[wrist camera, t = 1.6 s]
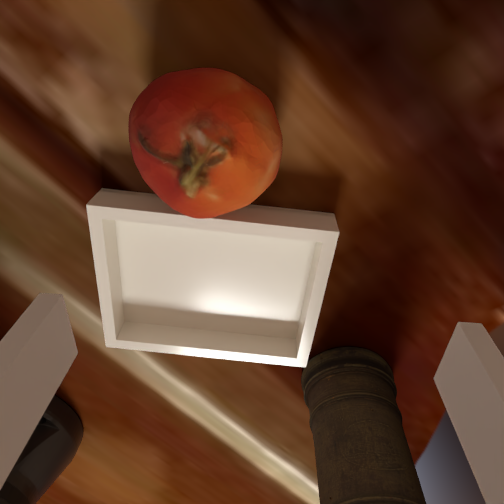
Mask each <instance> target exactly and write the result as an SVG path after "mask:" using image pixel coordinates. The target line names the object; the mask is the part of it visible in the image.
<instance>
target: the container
mask: <svg viewBox="0 0 504 504" xmlns="http://www.w3.org/2000/svg"><path fill="white" fill-rule="evenodd" d="M301 383H302V389H303V391H304V400H305V403H306V405H307V406H308V408H309V411H310V428H311V431H312V433H313V439H314V446H315V456H316V467H317V476H318V488H319V498H320V504H426V502H425V498H424V495H423V492H422V488H421V485H420V482H419V478H418V476H417V472H416V469H415V466H414V463H413V460H412V456H411V453H410V450H409V447H408V443H407V440H406V437H405V434H404V430H403V427H402V415H401V412H400V410H399V409H398V406H397V403H396V400H395V399H396V395H397V389H396V385H395V383H394V377H393V372H392V370H391V368H390V366H389V365H388V363H387V362H386V361H385V360H384V359H383V358H382V357H381V356H380V355H378V354H377V353H375V352H373V351H370V350H367V349H364V348H359V347H340V348H334V349H331V350H327V351H325V352H322V353H320V354H318V355H316V356H315V357H313V358H312V359H311V360H310V361H309V362H308V363H307V366H306V367H304V370H303V373H302V378H301Z"/></svg>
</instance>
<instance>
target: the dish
mask: <svg viewBox="0 0 504 504" xmlns="http://www.w3.org/2000/svg"><path fill="white" fill-rule="evenodd" d="M86 207H87V214H88V221H89V228H90V236H91V243H92V250H93V257H94V264H95V272H96V279H97V286H98V293H99V300H100V308H101V315H102V322H103V329H104V336H105V344H106V347H113V348H122V349H132V350H141V351H151V352H161V353H170V354H180V355H190V356H199V357H209V358H219V359H228V360H238V361H248V362H257V363H267V364H277V365H286V366H296V367H306V366H307V362H308V358H309V354H310V350H311V346H312V341H313V337H314V333H315V329H316V325H317V321H318V317H319V313H320V309H321V305H322V301H323V297H324V293H325V289H326V285H327V281H328V277H329V273H330V268H331V264H332V260H333V256H334V252H335V248H336V244H337V240H338V236H339V229H338V225H337V222H336V219H335V215H334V213H326V212H317V211H308V210H298V209H289V208H280V207H271V206H262V205H252V204H249V205H248V206H245V207H243V208H240V209H237V210H235V211H232V212H228V213H225V214H222V215H219V216H216V217H213V218H205V219H198V218H192V217H189V216H186V215H184V214H182V213H180V212H178V211H176V210H174V209H172V208H171V207H170V206H169V205H167V204H166V203H165V202H164V201H163V200H162V199H160V198H159V197H158V195H157V194H151V193H142V192H133V191H123V190H114V189H105V188H102V189H101V190H100V191H99V192H98V193H97V194H96V195H95V196H94V197H93V198H92V199H91V200H90V201H89V202H88V203H87V205H86Z"/></svg>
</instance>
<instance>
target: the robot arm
mask: <svg viewBox="0 0 504 504" xmlns="http://www.w3.org/2000/svg"><path fill="white" fill-rule="evenodd" d="M77 354H78V351H77V347H76V343H75V340H74V336H73V332H72V328H71V325H70V321H69V317H68V313H67V310H66V306H65V302H64V298H63V295H62V294H49V293H39V295H38V296H37V297H36V298H35V299H34V301H33V302H32V303H31V304H30V306H29V307H28V308H27V309H26V310H25V312H24V313H23V314H22V315H21V317H20V318H19V319H18V320H17V321H16V323H15V324H14V325H13V326H12V328H11V329H10V330H9V331H8V332H7V334H6V335H5V336H4V337H3V339H2V340H1V341H0V504H36V502H37V501H38V500H39V499H40V498H41V496H42V495H43V494H44V493H45V492H46V491H47V489H48V488H49V487H50V486H51V485H52V483H53V482H54V481H55V480H56V479H57V478H58V476H59V475H60V474H61V473H62V472H63V471H64V469H65V468H66V467H67V466H68V465H69V463H70V462H71V461H72V459H73V458H74V456H75V454H76V452H77V450H78V447H79V445H80V443H81V441H82V438H83V427H82V424H81V421H80V419H79V418H78V416H77V415H76V413H75V412H74V411H73V410H72V409H71V408H70V407H69V406H68V405H67V404H66V403H65V402H63V401H62V400H61V399H59V398H58V397H56V396H55V395H54V394H55V393H56V391H57V389H58V387H59V386H60V384H61V382H62V380H63V378H64V377H65V375H66V373H67V371H68V370H69V368H70V366H71V364H72V363H73V361H74V359H75V357H76V356H77ZM434 381H435V383H436V386H437V388H438V390H439V393H440V395H441V397H442V400H443V402H444V405H445V407H446V409H447V412H448V414H449V416H450V419H451V421H452V424H453V426H454V428H455V431H456V433H457V435H458V438H459V440H460V443H461V445H462V447H463V450H464V452H465V454H466V457H467V459H468V462H469V464H470V466H471V469H472V471H473V474H474V476H475V478H476V480H477V483H478V485H479V488H480V490H481V493H482V495H483V497H484V499H485V502H486V504H504V358H503V356H502V354H501V353H500V351H499V350H498V348H497V347H496V345H495V344H494V342H493V340H492V339H491V337H490V336H489V334H488V333H487V331H486V330H485V328H484V326H483V325H482V324H480V323H466V322H458V323H457V326H456V328H455V330H454V333H453V335H452V337H451V340H450V342H449V344H448V346H447V349H446V351H445V353H444V356H443V358H442V360H441V363H440V365H439V367H438V370H437V372H436V374H435V376H434Z"/></svg>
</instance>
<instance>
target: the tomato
mask: <svg viewBox="0 0 504 504" xmlns="http://www.w3.org/2000/svg"><path fill="white" fill-rule="evenodd" d="M129 142H130V147H131V151H132V155H133V159H134V162H135V164H136V166H137V168H138V170H139V172H140V174H141V176H142V178H143V179H144V181H145V182H146V184H147V185H148V186H149V187H150V188H151V189H152V190H153V191H154V192H155V193H156V194H157V195H158V197H159V198H160V199H162V200H163V201H164V202H165V203H166V204H167V205H169V206H170V207H171V208H172V209H174V210H176V211H178V212H180V213H182V214H184V215H186V216H189V217H192V218H198V219H205V218H213V217H216V216H219V215H222V214H225V213H228V212H232V211H235V210H237V209H240V208H243V207H245V206H248V205H249V204H251V203H252V202H253V201H254V200H255V199H257V198H258V197H259V196H260V195H261V194H262V193H263V192H264V191H265V190H266V189H267V188H268V187H269V185H270V184H271V183H272V182H273V181H274V179H275V178H276V175H277V173H278V170H279V165H280V160H281V155H282V134H281V130H280V127H279V123H278V120H277V117H276V113H275V110H274V107H273V105H272V103H271V101H270V100H269V98H268V97H267V96H266V94H264V93H263V92H262V91H261V90H260V89H258V88H257V87H256V86H254V85H252V84H250V83H249V82H247V81H246V80H244V79H243V78H241V77H239V76H238V75H236V74H234V73H231V72H228V71H225V70H222V69H218V68H194V69H188V70H182V71H175V72H170V73H166V74H164V75H162V76H160V77H159V78H157V79H155V80H154V81H152V82H151V83H150V84H149V85H148V86H147V87H146V88H145V89H144V90H143V91H142V92H141V94H140V95H139V96H138V98H137V99H136V101H135V102H134V104H133V106H132V109H131V111H130V115H129Z"/></svg>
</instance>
